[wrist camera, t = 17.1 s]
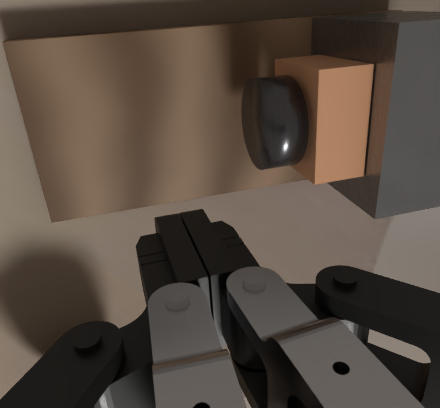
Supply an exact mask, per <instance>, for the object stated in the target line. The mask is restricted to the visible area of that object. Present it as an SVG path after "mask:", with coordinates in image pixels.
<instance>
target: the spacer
mask: <svg viewBox="0 0 440 408" xmlns="http://www.w3.org/2000/svg"><path fill="white" fill-rule="evenodd" d="M373 70H374V64H371V63H366V62H360V61H354V60H348V59H343V58H337V57H331V56H325V55H312V56H302V57H292V58H282V59H275V76H280V75H290V76H292V77H293V78H294V79H295V80H296V81H297V83H298V84H299V86H300V88H301V90H302V93H303V94H304V99H305V102H306V107H307V113H308V123H309V134H308V143H307V148H306V152H305V154H304V157H303V158H302V160H301V161H300V162H299V163H298V164H295V165H290V166H291V167H292V168H294V169H295V170H296V171H298V172H299V173H300V174H301V175H303V176H304V177H305V178H307V179H308V180H309V181H311V182H312V183H313V184H314V185H316V184H321V183H327V182H333V181H339V180H344V179H350V178H356V177H362V176H364V167H365V156H366V146H367V135H368V124H369V113H370V102H371V91H372V80H373Z"/></svg>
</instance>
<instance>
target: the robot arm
mask: <svg viewBox="0 0 440 408" xmlns="http://www.w3.org/2000/svg"><path fill="white" fill-rule="evenodd" d="M155 228H156V233H155V234H150V235H145V236H141V237H140V239H139V241H138V243H137V245H136V251H137V257H138V263H139V269H140V275H141V281H142V287H143V291H144V296H145V300H146V305H147V306H146V309H145V310H144V312H143V313H142V314H141V315H140V316H139V317H138V318H137V319H136V320H134V321H133V322H131V323H130V324H128V325H126V326H124V327H122V328H120V329H119V328H118V327H117V326H115V325H114V324H112V323H109V322H105V321H92V322H87V323H84V324H81V325H78V326H76V327H74V328H72V329H71V330H69V331H68V332H66V333H65V334H64V335H63V336H62V337H61V338H60V339H59V340H58V341H57V342H56V343H55V344H54V345H53V346H52V347H51V348H50V349H49V350H48V351H47V352H46V353H45V354H44V355H43V356H42V357H41V359H40V360H39V361H38V362H37V363H36V364H35V365H34V366H33V367H32V368H31V369H30V370H29V371H28V372H27V373H26V374H25V375H24V376H23V377H22V378H21V379H20V380H19V381H18V382H17V383H16V384H15V385H14V386H13V387H12V388H11V389H10V390H9V391H8V392H7V393H6V394H5V395H4V396H3V397H2V399H1V400H0V408H246V404H245V401H244V398H243V395H242V392H241V389H242V391H243V393H244V395H245V396H246V398H247V400H248V402H249V404H250V406H251V408H440V293H437V292H434V291H430V290H427V289H424V288H420V287H417V286H414V285H410V284H407V283H404V282H400V281H397V280H394V279H390V278H387V277H384V276H381V275H377V274H374V273H371V272H367V271H364V270H361V269H357V268H354V267H350V266H341V265H339V266H330V267H327V268H324V269H323V270H321V271H320V272H319V273H318V274H317V276H316V284H290V283H285V282H284V280H283V279H282V278H281V277H280V276H279V275H278V274H277V273H276V272H274V271H272V270H270V269H267V268H264V267H260V266H259V264H258V263H257V261H256V260H255V258H254V257H253V255H252V254H251V253H250V251H249V250H248V248H247V247H246V245H244V242H243V241H242V240H241V238H239V235H238V234H237V232H236V231H235V229H234V228H233V227H232V226H230V225H228V224H226V223H225V222H223V221H218V222H212V223H211V222H210V220H209V219H208V217H207V215H206V214H205V212H204V210H203V209H199V210H193V211H188V212H182V213H179V214H178V213H177V214H172V215H166V216H161V217H155ZM369 329H371V330H374V331H377V332H380V333H382V334H385V335H388V336H390V337H393V338H396V339H398V340H401V341H404V342H406V343H409V344H412V345H414V346H417V347H419V348H421V349H422V350H424V351H425V352H426V353H427V355H428V356H429V357H430V360H431V363H419V362H417V361H414V360H411V359H409V358H406V357H404V356H401V355H398V354H396V353H393V352H390V351H388V350H386V349H383V348H380V347H378V346H376V345H373V344H370V343H368V335H369ZM224 346H228V349H229V351H230V355H229V352H228V350H227V349H224V350H223V349H222V347H224ZM240 387H241V389H240Z"/></svg>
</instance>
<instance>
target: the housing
mask: <svg viewBox="0 0 440 408" xmlns="http://www.w3.org/2000/svg"><path fill="white" fill-rule="evenodd" d="M312 55H325V56H331V57H337V58H343V59H348V60H354V61H360V62H366V63H371V64H374V70H373V80H372V91H371V102H370V113H369V124H368V135H367V146H366V156H365V167H364V176H362V177H356V178H350V179H344V180H339V181H333V182H327V183H328V184H329V185H331V186H332V187H333V188H335V189H336V190H337V191H339V192H340V193H341V194H342V195H344V196H345V197H346V198H348V199H349V200H350V201H352V202H353V203H354V204H356V205H357V206H358V207H360V208H361V209H362V210H363V211H365V212H366V213H367V214H369V215H370V216H371V217H373V218H374V219H379V218H384V217H389V216H394V215H399V214H403V213H409V212H413V211H418V210H424V209H429V208H434V207H439V206H440V12H420V11H389V12H377V13H364V14H351V15H339V16H326V17H313V18H312V35H311V56H312Z"/></svg>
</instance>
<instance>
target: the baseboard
mask: <svg viewBox="0 0 440 408" xmlns="http://www.w3.org/2000/svg"><path fill="white" fill-rule="evenodd" d="M389 11H403V10H385V11H372V12H359V13H346V14H333V15H320V16H308V17H295V18H282V19H269V20H256V21H244V22H231V23H218V24H205V25H192V26H180V27H167V28H154V29H141V30H128V31H115V32H103V33H90V34H77V35H64V36H51V37H39V38H26V39H13V40H6V41H4V42H3V46H4V50H5V53H6V57H7V61H8V64H9V68H10V72H11V75H12V79H13V83H14V86H15V90H16V94H17V97H18V101H19V105H20V108H21V112H22V116H23V119H24V123H25V127H26V130H27V134H28V138H29V141H30V145H31V149H32V152H33V156H34V160H35V163H36V167H37V171H38V174H39V178H40V182H41V185H42V189H43V193H44V196H45V200H46V204H47V207H48V211H49V215H50V218H51V222H58V221H64V220H70V219H76V218H82V217H88V216H94V215H99V214H105V213H111V212H117V211H123V210H129V209H135V208H141V207H147V206H153V205H159V204H164V203H170V202H176V201H182V200H188V199H194V198H200V197H206V196H212V195H218V194H224V193H229V192H235V191H241V190H247V189H253V188H259V187H265V186H271V185H277V184H283V183H289V182H294V181H300V180H306V179H307V178H305V177H304V176H303V175H301V174H300V173H299V172H298V171H296V170H295V169H294V168H292V167H291V166H283V167H277V168H271V169H264V170H259V169H258V168H256V167H255V165H254V164H253V162H252V161H251V159H250V156H249V154H248V151H247V148H246V144H245V140H244V135H243V128H242V118H241V104H242V95H243V90H244V87H245V84H246V83H247V81H248V80H249V79H253V78H262V77H271V76H275V59H282V58H292V57H302V56H311V35H312V18H313V17H326V16H339V15H351V14H364V13H377V12H389ZM303 95H304V94H303Z"/></svg>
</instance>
